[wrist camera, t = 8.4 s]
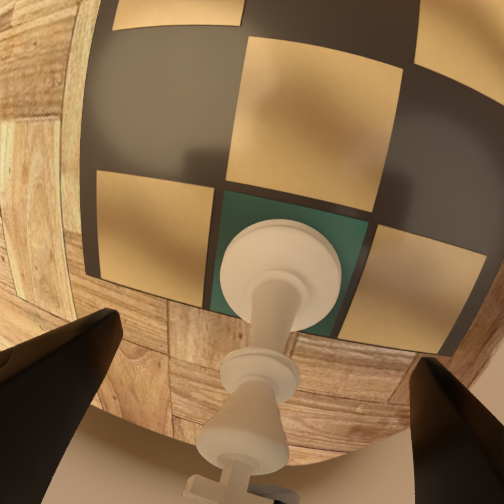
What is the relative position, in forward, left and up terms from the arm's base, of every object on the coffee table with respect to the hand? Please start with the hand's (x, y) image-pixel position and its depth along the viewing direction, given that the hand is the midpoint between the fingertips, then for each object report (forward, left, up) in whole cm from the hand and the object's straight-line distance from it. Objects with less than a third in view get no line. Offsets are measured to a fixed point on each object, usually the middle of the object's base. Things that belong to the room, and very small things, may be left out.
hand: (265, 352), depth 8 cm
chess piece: (0, 0, -5) cm, 5 cm away
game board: (+14, -10, -6) cm, 18 cm away
